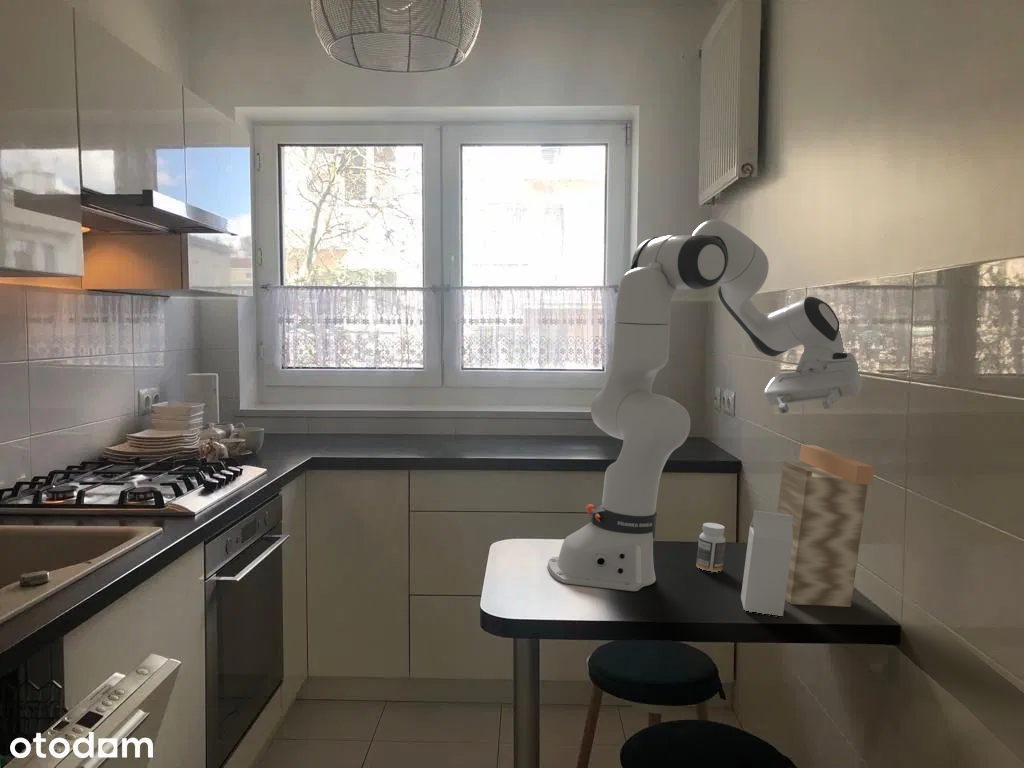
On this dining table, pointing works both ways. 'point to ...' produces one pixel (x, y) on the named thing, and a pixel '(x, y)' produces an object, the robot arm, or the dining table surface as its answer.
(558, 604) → the dining table surface
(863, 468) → the bar
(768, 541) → the milk carton
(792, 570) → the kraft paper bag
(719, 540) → the pill bottle
